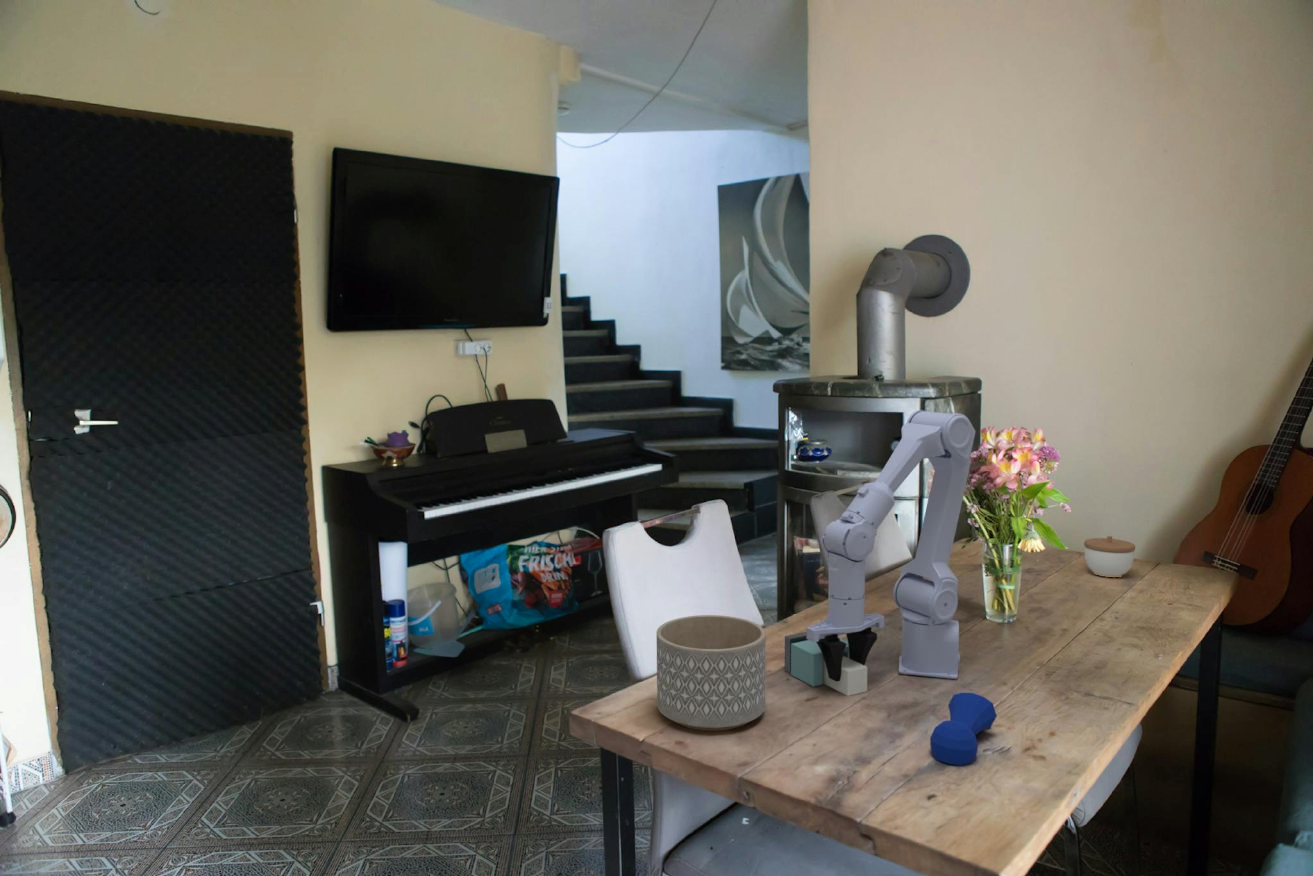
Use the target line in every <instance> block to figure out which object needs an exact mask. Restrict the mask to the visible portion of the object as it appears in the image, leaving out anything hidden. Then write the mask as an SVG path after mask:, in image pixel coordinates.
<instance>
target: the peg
mask: <svg viewBox="0 0 1313 876" xmlns="http://www.w3.org/2000/svg"><path fill="white" fill-rule="evenodd" d="M823 684H824V685H826V686H828V687H829V688H832V689H833V690H836V691H837V692H839V693H841V694H843V695H845V696H847V697H850V696H852V695H857V694H861V693H865V692H868V666H867V665H865V666H864V665H862V664H860V663H858V662H855V661H853V660H851V659H849V658H847V657H845V656H843V658H842V668H841V678H840V681H837V682H836V681H834V680H832V679H830V678H829V676H828V671H827V667H826V664H825V660H824V657H823Z"/></svg>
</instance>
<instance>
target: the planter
mask: <svg viewBox="0 0 1313 876" xmlns="http://www.w3.org/2000/svg"><path fill="white" fill-rule="evenodd" d="M656 700H657V701H656V702H657V704H656V705H657V709H658V711H659V712H660V714H662V715H663V716H664V717H666V718H667V719H669V720H671V721H673V722H674V723H676V724H678V725H680V726H681V727H682V726H683V727H686V728H688V729H692V730H697V731H698V730H699V731H711V732H715V731H716V732H718V731H726V730H727V731H728V730H733V729H736V728H739V727H742V726H744V725H746V724H748V723H750V722H751V721H754V720H755V719H757V718H759V717H760V716H761V715H762V714H763V713H764V711H765V709H766V632H765V629H764V627H763V626H761V625H760V624H758V623H756V622H754V621H751V620H748V619H745V618H740V617H736V616H729V615H720V614H719V615H717V614H703V615H702V614H700V615H691V616H684V617H679V618H675V619H671V620H669V621H667V622H665V623H663V624H661V625H659V627H658V628H657V629H656Z"/></svg>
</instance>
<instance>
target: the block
mask: <svg viewBox="0 0 1313 876" xmlns="http://www.w3.org/2000/svg"><path fill="white" fill-rule="evenodd" d="M838 638H840V641H842V642H844V643H846V644H847V645H846V647H845V650H844V653H843V656H845V657H847V658H849V645H848V640H846V639H844V638H841V637H840V636H838ZM790 675H791V676H793V677H794V678H796V679H798V680H800V681H802V682H804V683H806V684H808V685H809V686H811V687H818V686H821V685H823V684H824V683H823V655H822V652H821V650H820V648H819V646H818V644H817V643H816V642H812V641H810V640H807V641H802V642H797V643H792V644H791V673H790Z"/></svg>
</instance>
